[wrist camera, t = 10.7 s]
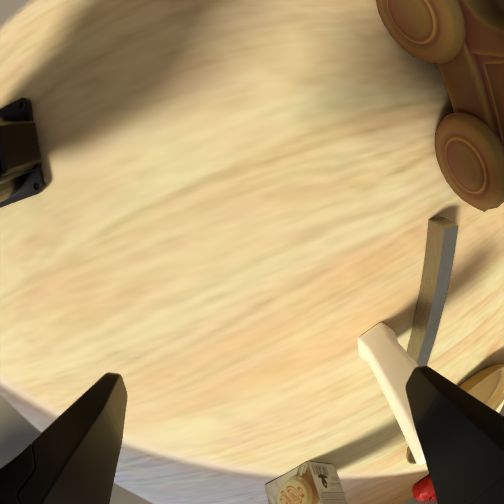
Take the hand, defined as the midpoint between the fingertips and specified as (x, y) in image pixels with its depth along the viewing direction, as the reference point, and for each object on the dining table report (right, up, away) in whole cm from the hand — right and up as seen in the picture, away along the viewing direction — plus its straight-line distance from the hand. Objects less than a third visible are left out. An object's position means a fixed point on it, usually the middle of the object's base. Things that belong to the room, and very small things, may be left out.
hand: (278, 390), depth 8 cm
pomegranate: (+48, -60, +48) cm, 91 cm away
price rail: (+15, -3, +17) cm, 23 cm away
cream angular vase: (+10, -4, +17) cm, 20 cm away
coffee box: (+6, -29, +27) cm, 40 cm away
